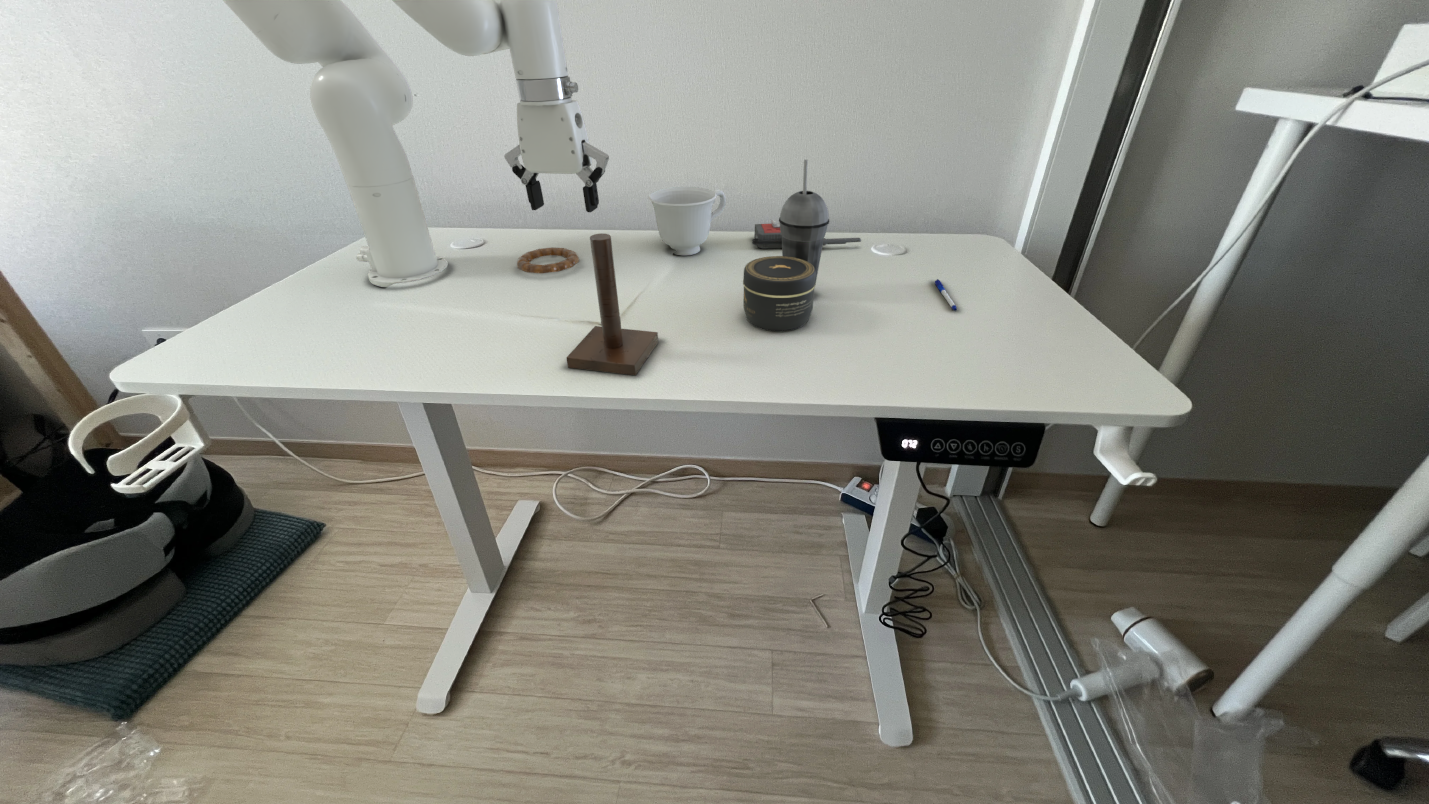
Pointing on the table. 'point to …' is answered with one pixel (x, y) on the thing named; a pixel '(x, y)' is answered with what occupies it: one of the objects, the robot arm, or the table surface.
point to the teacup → (685, 216)
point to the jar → (778, 292)
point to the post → (610, 324)
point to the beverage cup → (804, 225)
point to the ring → (547, 268)
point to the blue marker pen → (945, 294)
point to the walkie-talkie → (773, 239)
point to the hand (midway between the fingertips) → (564, 209)
